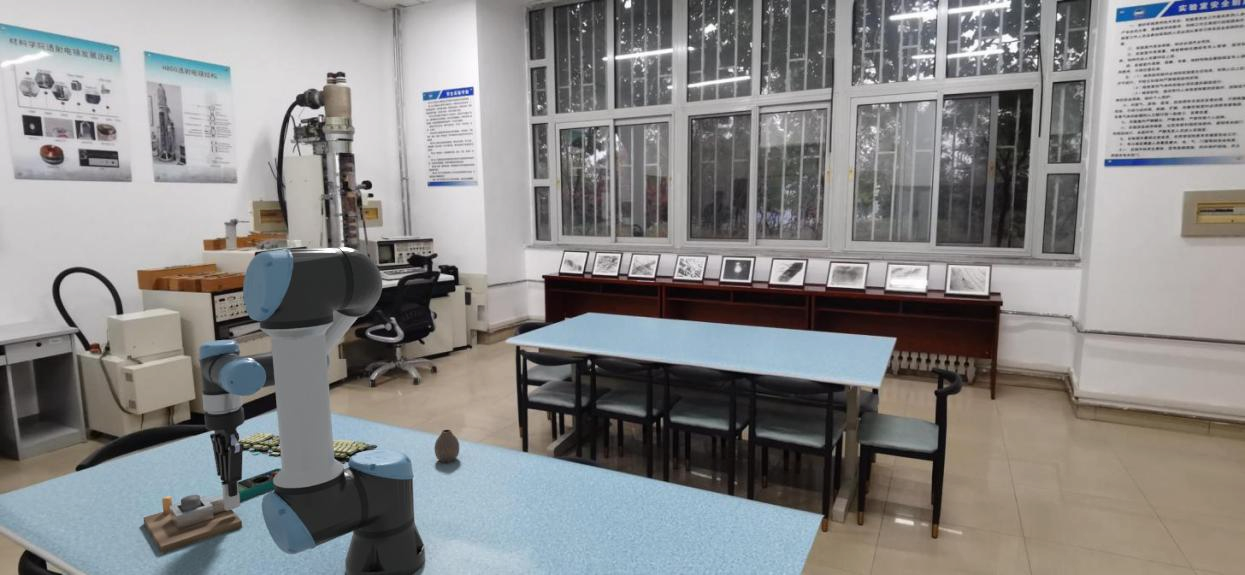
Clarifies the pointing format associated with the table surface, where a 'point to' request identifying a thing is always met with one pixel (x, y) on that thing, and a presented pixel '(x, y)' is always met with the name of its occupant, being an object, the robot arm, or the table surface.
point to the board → (174, 538)
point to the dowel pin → (167, 504)
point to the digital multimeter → (256, 484)
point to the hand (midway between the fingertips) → (232, 507)
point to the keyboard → (341, 451)
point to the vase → (446, 446)
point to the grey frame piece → (197, 511)
